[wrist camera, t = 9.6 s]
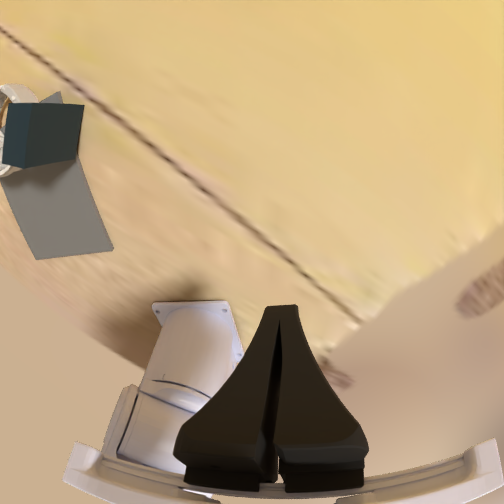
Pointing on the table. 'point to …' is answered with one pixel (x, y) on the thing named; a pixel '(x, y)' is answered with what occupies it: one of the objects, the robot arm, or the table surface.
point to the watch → (36, 130)
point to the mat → (56, 207)
